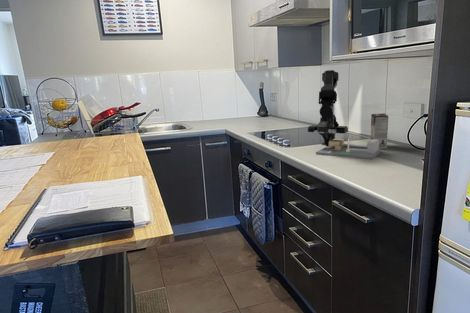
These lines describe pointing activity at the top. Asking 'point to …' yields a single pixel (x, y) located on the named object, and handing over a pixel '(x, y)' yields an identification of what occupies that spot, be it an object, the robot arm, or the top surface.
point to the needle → (348, 147)
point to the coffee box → (379, 129)
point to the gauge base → (355, 151)
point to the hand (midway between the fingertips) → (327, 146)
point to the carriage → (336, 144)
